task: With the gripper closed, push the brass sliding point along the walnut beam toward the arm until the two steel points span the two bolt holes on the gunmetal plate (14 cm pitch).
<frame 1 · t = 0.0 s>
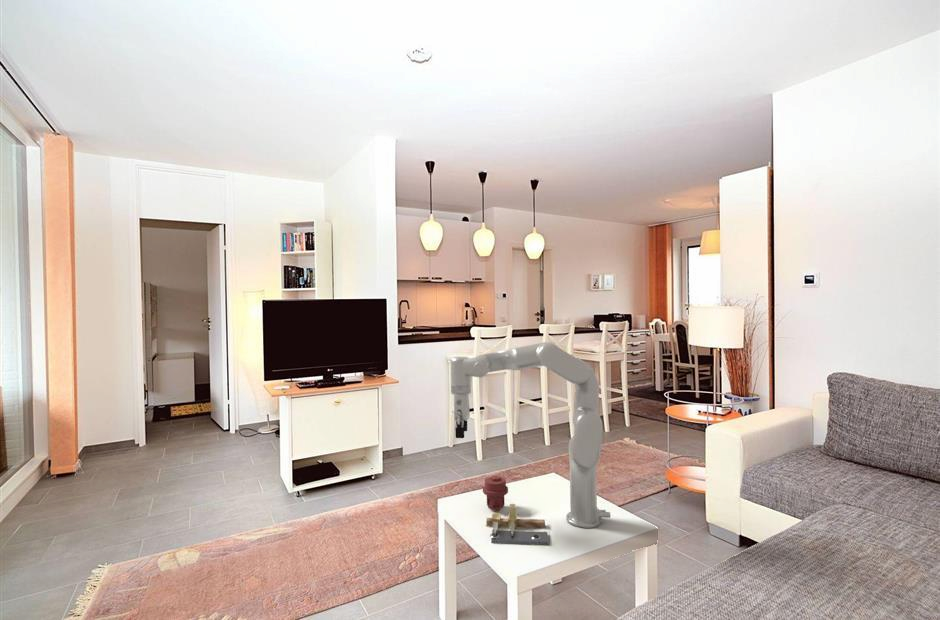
hand: (461, 434, 174), 31 cm above the table, tool pointing down, fingers open, 9 cm apart
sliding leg: (512, 520, 161), point 4 cm above the table, slide at 6.0 cm
hole plate: (519, 538, 156), on the table
mechanical component: (495, 509, 180), on the table
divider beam: (515, 525, 165), on the table
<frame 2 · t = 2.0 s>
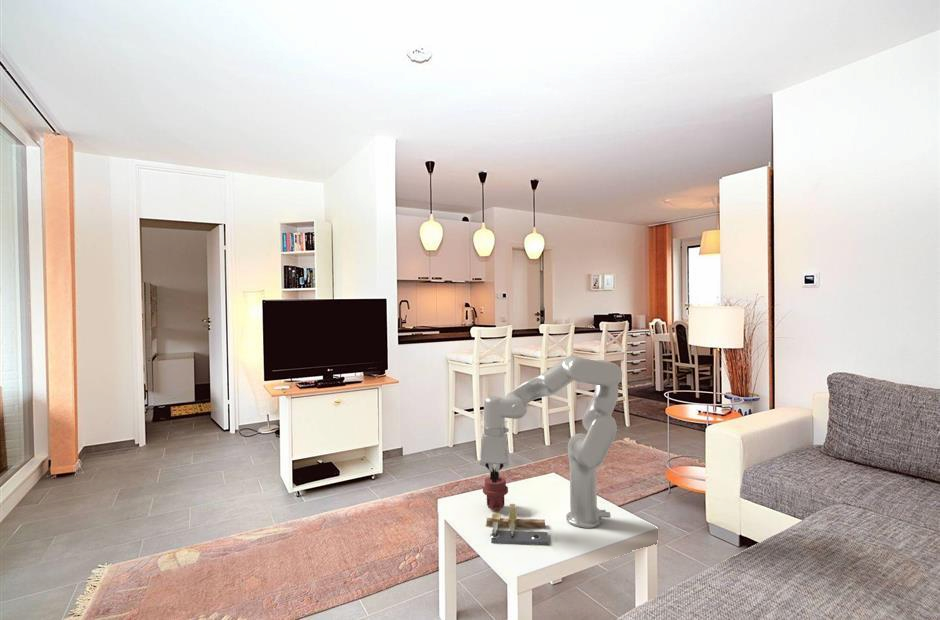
hand: (494, 481, 166), 16 cm above the table, tool pointing down, fingers closed
nothing on the table moved.
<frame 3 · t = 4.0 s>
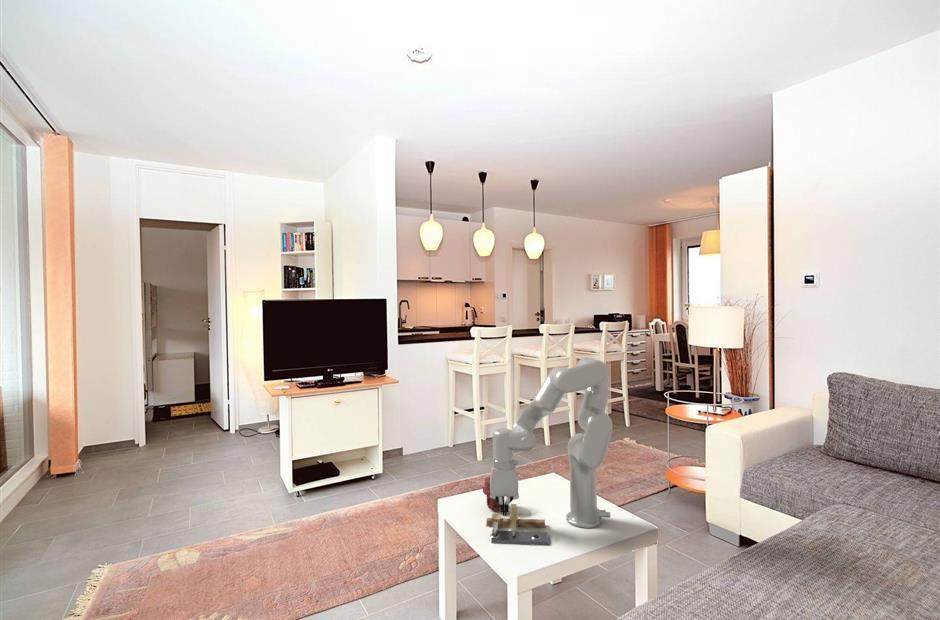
hand: (504, 514, 166), 4 cm above the table, tool pointing down, fingers closed
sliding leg: (513, 520, 161), point 4 cm above the table, slide at 6.5 cm, touching gripper
everything else where it was.
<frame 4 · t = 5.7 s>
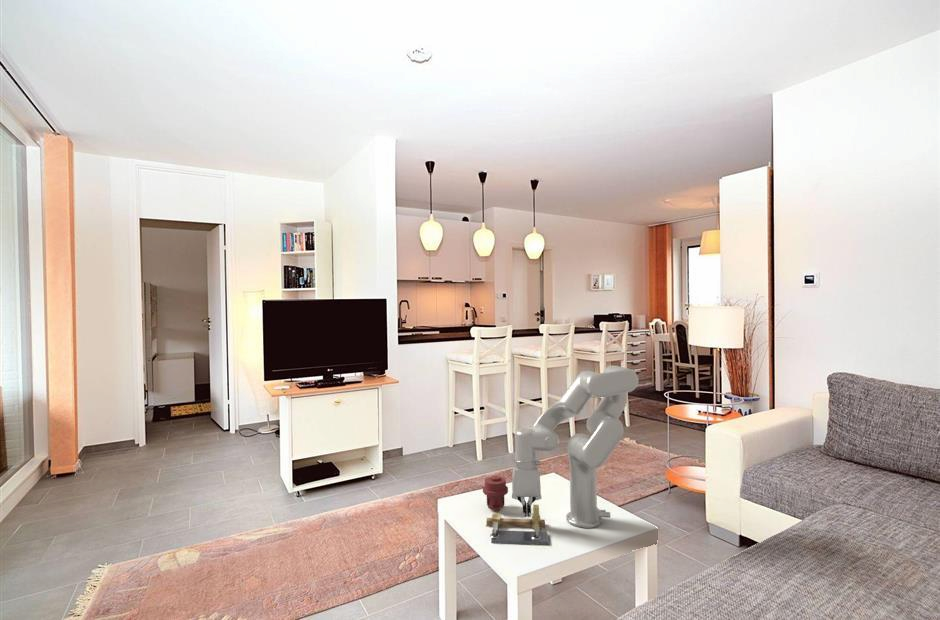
hand: (526, 514, 165), 4 cm above the table, tool pointing down, fingers closed
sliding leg: (536, 521, 160), point 4 cm above the table, slide at 14.4 cm, touching gripper
everything else where it was.
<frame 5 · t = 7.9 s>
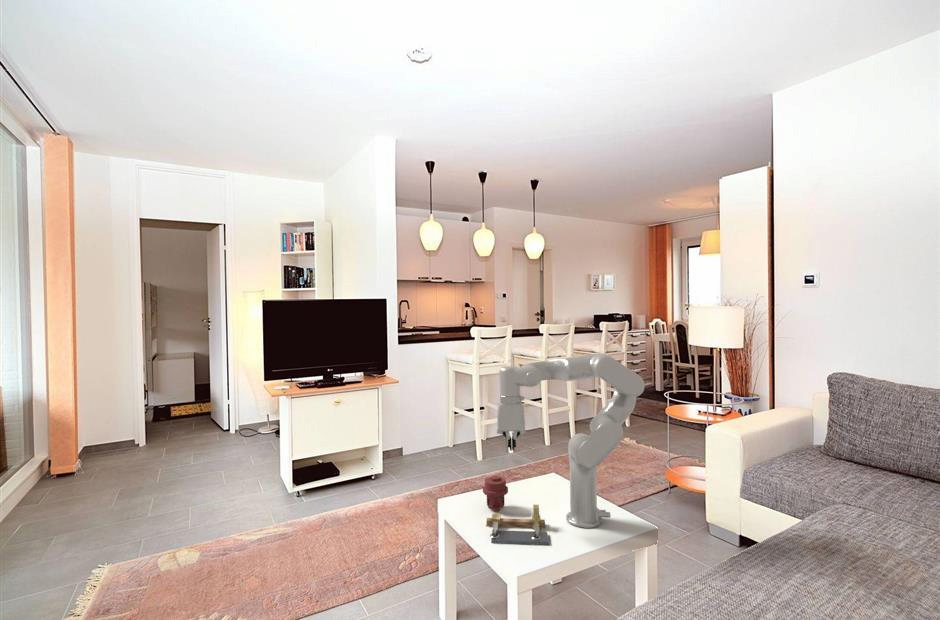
hand: (511, 449, 169), 27 cm above the table, tool pointing down, fingers closed
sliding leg: (536, 521, 160), point 4 cm above the table, slide at 14.5 cm
everything else where it was.
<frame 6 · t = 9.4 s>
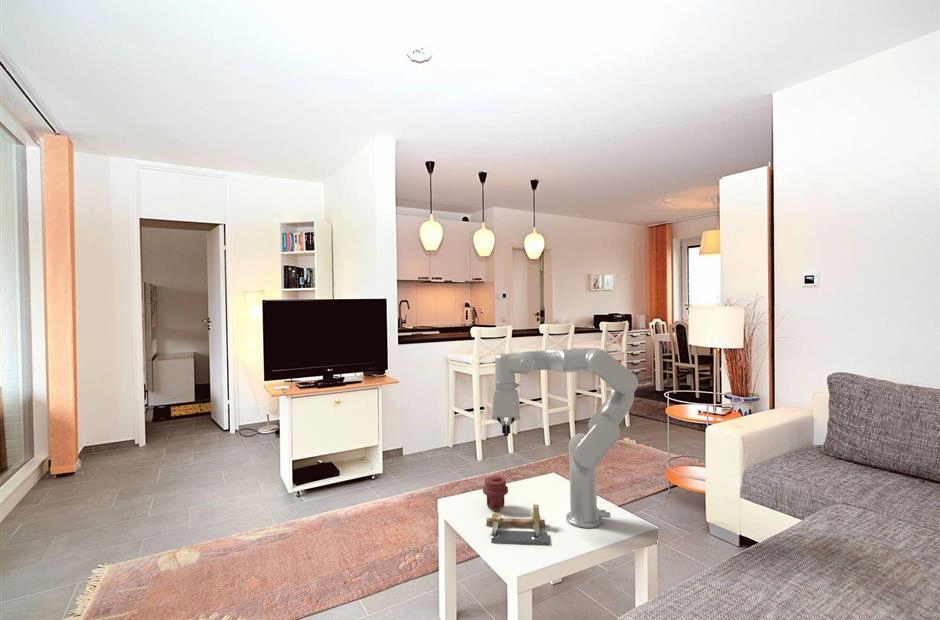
hand: (506, 435, 172), 31 cm above the table, tool pointing down, fingers closed
nothing on the table moved.
at the end: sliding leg slide at 14.5 cm; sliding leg 0.5 cm from the target spot, resting on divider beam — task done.
